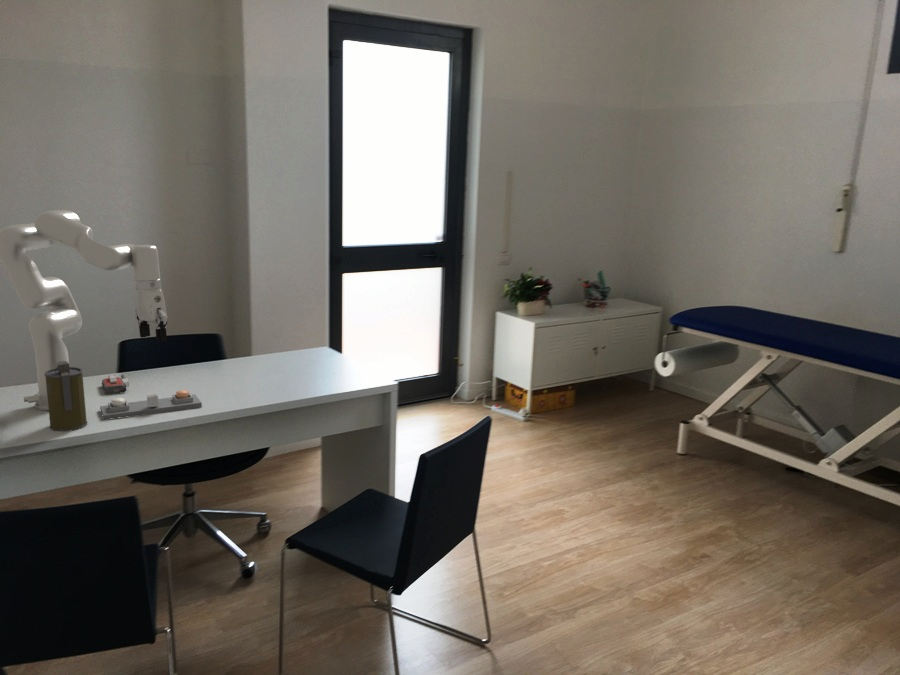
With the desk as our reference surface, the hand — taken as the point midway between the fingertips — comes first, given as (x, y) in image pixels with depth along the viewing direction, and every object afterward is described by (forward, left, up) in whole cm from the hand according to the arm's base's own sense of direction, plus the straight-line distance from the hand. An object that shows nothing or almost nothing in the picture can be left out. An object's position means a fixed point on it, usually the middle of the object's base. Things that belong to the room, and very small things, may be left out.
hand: (153, 338), depth 232 cm
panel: (-1, +8, -26) cm, 27 cm away
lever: (-1, +5, -24) cm, 24 cm away
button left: (-11, +8, -23) cm, 26 cm away
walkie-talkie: (-8, +38, -26) cm, 47 cm away
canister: (-26, +2, -26) cm, 36 cm away
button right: (+9, +8, -23) cm, 26 cm away
